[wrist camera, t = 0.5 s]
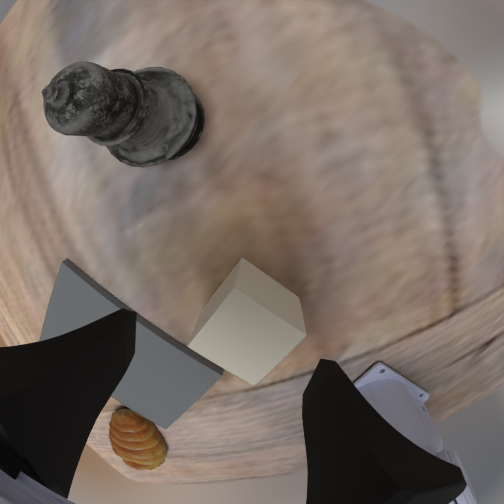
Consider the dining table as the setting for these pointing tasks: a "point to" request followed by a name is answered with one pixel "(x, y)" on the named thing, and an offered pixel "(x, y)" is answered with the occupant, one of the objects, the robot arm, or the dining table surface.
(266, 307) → the block
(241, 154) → the dining table surface
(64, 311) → the board
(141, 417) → the pastry
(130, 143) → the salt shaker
